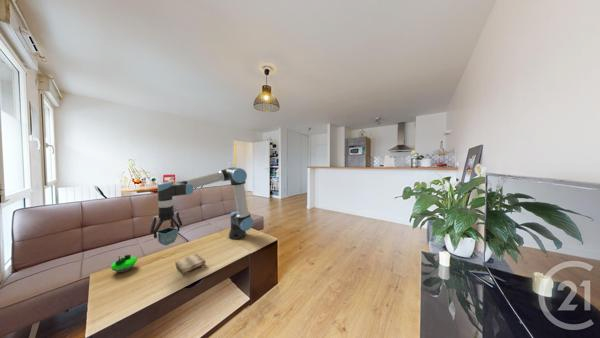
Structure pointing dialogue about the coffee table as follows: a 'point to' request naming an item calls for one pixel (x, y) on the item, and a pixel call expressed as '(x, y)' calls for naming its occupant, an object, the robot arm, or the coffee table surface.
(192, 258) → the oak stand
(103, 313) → the coffee table surface
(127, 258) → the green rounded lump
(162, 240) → the flower pot
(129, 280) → the coffee table surface
